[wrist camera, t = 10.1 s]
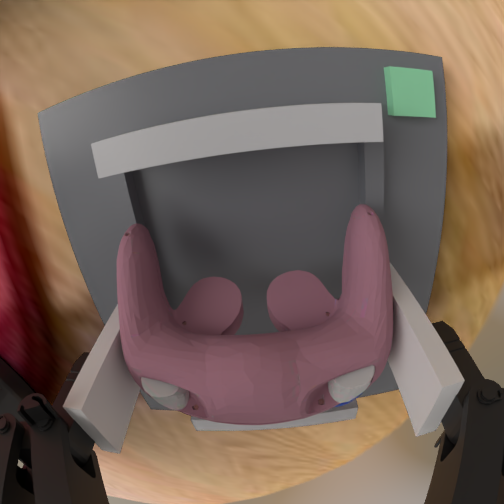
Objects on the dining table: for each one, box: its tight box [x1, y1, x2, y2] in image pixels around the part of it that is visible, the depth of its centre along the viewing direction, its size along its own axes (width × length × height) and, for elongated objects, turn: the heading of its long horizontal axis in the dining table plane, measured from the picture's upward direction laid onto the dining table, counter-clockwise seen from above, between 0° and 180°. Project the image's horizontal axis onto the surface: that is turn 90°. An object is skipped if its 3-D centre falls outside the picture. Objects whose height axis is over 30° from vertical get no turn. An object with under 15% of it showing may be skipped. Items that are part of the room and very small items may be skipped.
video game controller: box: [117, 204, 393, 425], centre depth 10 cm, size 10×5×7 cm, turn 96°
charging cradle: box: [38, 47, 447, 431], centre depth 13 cm, size 18×20×4 cm
